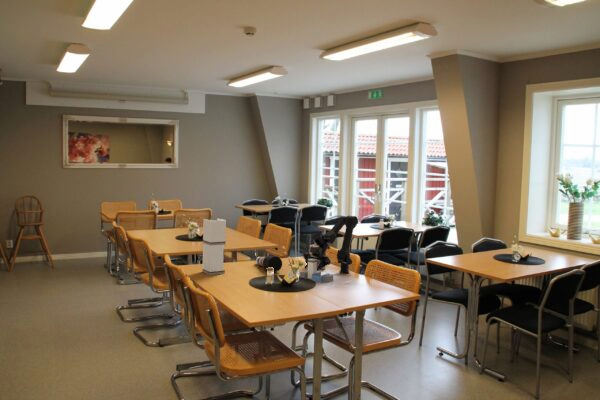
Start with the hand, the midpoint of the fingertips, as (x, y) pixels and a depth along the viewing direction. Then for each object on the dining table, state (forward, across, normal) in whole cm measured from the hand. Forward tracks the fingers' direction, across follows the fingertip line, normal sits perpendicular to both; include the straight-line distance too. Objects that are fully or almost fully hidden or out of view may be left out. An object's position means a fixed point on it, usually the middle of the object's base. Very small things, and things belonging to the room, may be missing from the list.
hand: (310, 269), depth 323 cm
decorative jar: (-20, -20, +30) cm, 41 cm away
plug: (+3, 0, +5) cm, 6 cm away
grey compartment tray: (+4, +4, +6) cm, 8 cm away
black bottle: (0, -44, +10) cm, 45 cm away
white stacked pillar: (+25, -58, -15) cm, 65 cm away
